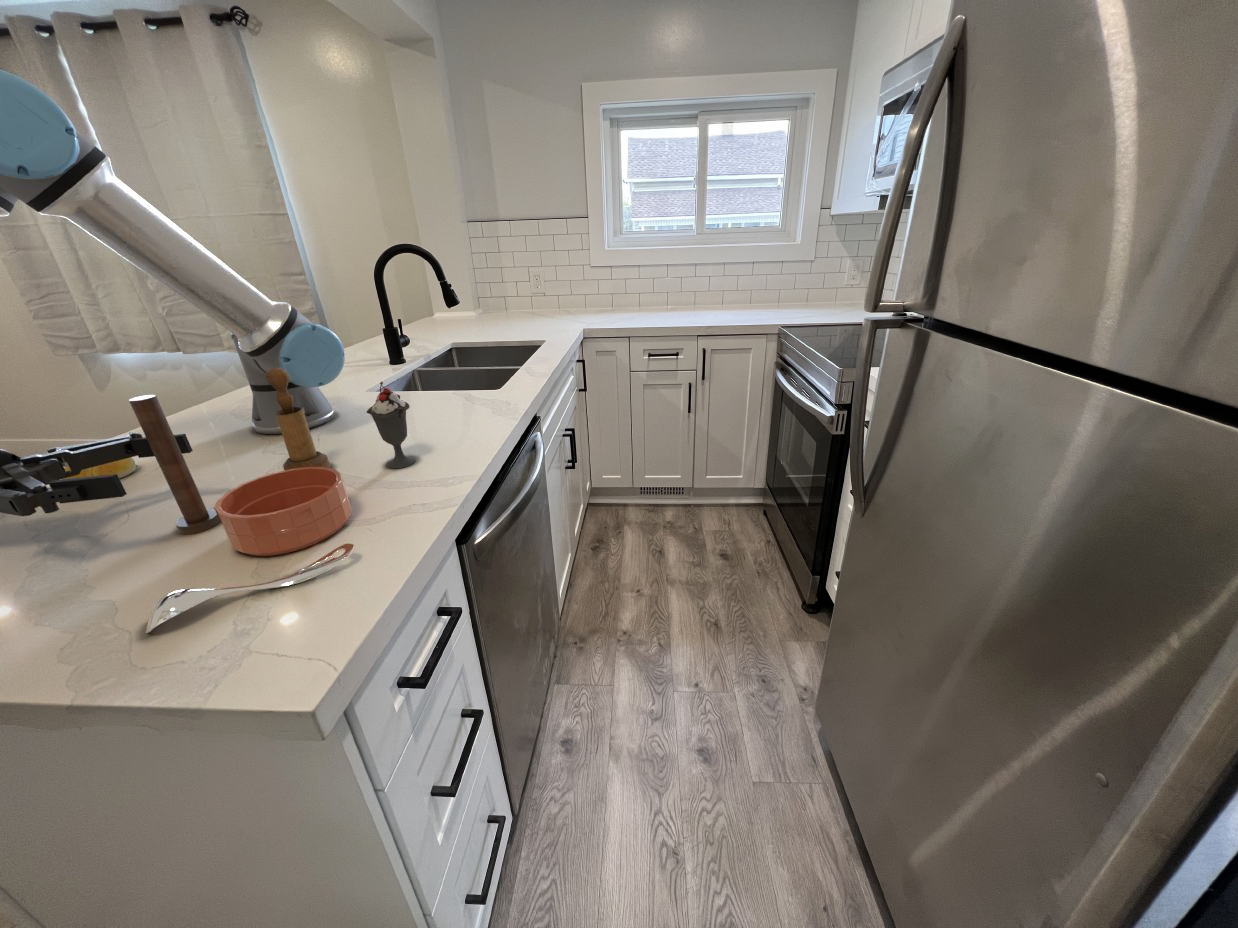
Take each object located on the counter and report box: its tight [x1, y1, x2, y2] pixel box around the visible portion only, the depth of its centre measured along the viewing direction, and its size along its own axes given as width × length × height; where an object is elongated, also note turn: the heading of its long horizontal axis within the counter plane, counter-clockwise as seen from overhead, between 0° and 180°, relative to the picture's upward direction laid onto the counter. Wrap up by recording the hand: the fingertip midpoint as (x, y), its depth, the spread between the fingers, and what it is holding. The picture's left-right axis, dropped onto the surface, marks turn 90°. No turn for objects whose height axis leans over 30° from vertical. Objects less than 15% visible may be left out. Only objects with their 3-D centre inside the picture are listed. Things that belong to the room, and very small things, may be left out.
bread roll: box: [64, 457, 137, 480], centre depth 86 cm, size 8×9×4 cm
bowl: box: [214, 467, 352, 557], centre depth 67 cm, size 14×14×6 cm
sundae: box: [365, 381, 417, 470], centre depth 84 cm, size 7×7×15 cm
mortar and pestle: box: [266, 368, 332, 471], centre depth 81 cm, size 7×6×18 cm
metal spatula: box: [145, 543, 355, 634], centre depth 55 cm, size 20×4×5 cm
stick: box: [128, 394, 221, 535], centre depth 66 cm, size 5×5×19 cm
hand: (157, 462), depth 65 cm, fingers open, 13 cm apart
